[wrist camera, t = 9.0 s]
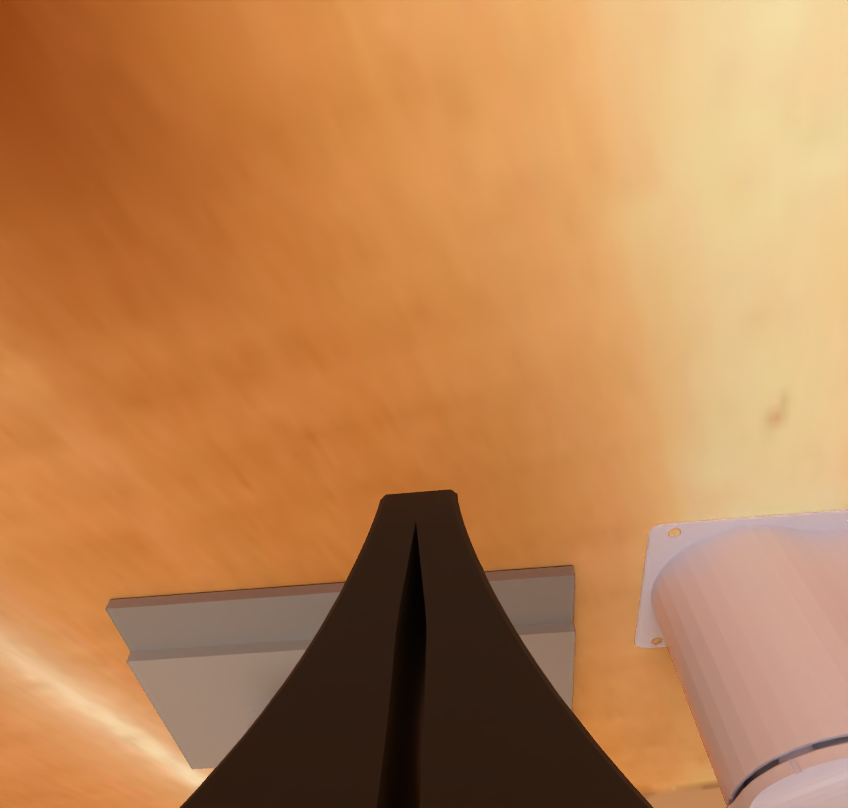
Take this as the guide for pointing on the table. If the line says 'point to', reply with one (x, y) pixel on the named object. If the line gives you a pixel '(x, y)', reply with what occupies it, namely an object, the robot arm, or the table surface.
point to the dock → (290, 648)
